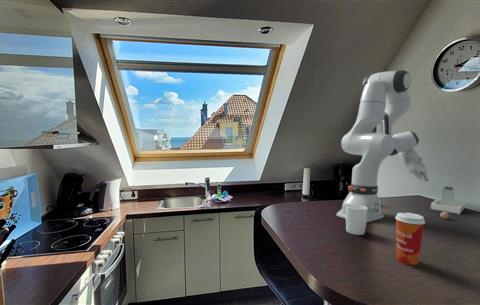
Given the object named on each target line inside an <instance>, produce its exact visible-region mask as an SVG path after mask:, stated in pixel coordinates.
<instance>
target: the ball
mask: <svg viewBox="0 0 480 305" xmlns="http://www.w3.org/2000/svg"><path fill="white" fill-rule="evenodd" d="M449 214H450V213H449V212H444V211H441V213H440V218H442V219H443V220H447V219H449V217H450V215H449Z"/></svg>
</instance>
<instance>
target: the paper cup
mask: <svg viewBox="0 0 480 305" xmlns="http://www.w3.org/2000/svg"><path fill="white" fill-rule="evenodd" d="M395 220H396V222H395V223H396V224H395V225H396V226H395V227H396V228H395V230H396V234H395V235H396V239H395V240H396V242H395V244H396V245H395V246H396V260H397V261H398V262H399V263H401V264H404V265H408V266H417V265H419V260H420V255H421V248H422V240H423V235H424V234H423V233H424V227H425V226H424V225H425V224H426V220H425V218H424V216H422V215H420V214H416V213H413V212H412V213H411V212H398V213H397V214H396V215H395Z"/></svg>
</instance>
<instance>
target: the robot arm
mask: <svg viewBox="0 0 480 305" xmlns="http://www.w3.org/2000/svg"><path fill="white" fill-rule="evenodd" d="M411 80H412V77H411V75H410V73H409V72H408V71H407V70H403V69H398V70H390V71H389V70H388V71H380V72H376V73H370V74H367V75H365V77H364V78H363V79H362V81H361V90H362V94H361V97H360V99H359V100H360V102H359V106H358V108H359V109H358V113H357V116H356V121H355V123H354V124H353V126H352V128H351V129H350V130H349V131H348V132H347V133H346V134H344V135H343V137H342V139H341V141H340V144H341V148H342V151H344V152H345V153H348V154H350V155H354V156H355V155H356V156H362V158H361V160H360V162H359V163H357V164H355V165H354V166H353V167H352V169H351V170H352V172H351V183H350V185H348V187H347V190H348V191H349V193H348V194H347V195H346V197H345V198H344V200H343V202H342V206H341V209H340V210H339V211H337V213H336V216H337V217H339V218H341V219H345V220H346V205H348V204H357V205H362V206H365V207H367V208H368V211H367V220H366V223H370V222H373V221H376V220H380V219H381V220H382V219H383V218H384V214H382V213H381V198H380V197H379V196H378V190H379V186H378V177H379V176H378V174H379V169H380V167H381V164H382V163H383V162H384V160H385V159H386V158H387V157H390V156H391V157H393V156H395V155H397V154H398V156H399V159H400V161H401V162H402V163H403V165H404V166H405V167H406V168H407V171H408V172H409V173H410V174H413V175H414V176H415V177H416V178H417V180H418V181H424V182H429V181H430V179H429V177H428V174H429V171H428V169H427V166H426V165H425V163H424V160H423V158H422V157H421V156H420V155H419V153H418V152H417V150H416V149H415V147H417V146H418V144H419V142H420V139H419V136H418V135H417V133H416V132H414V131H410V130H408V131H404V132H397V133H396V134H394V135H393V130H392V128H393V124H394V123H395V122H397V121H398V119H400V118H401V117H402V116H404V115H405V114H406V113H407V112H408V111H409V109H410V108H411V106H412V105H411V104H412V103H411V95H410V92H409V88H410V87H411V83H412V81H411ZM380 124H381V132H373V130H374V129H375V128H376V127H377V126H379V125H380Z"/></svg>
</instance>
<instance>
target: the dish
mask: <svg viewBox="0 0 480 305" xmlns="http://www.w3.org/2000/svg"><path fill="white" fill-rule="evenodd" d="M441 203H442V199H439V198H438V199H437V198H436V199H435V200H434V201H433V202H431V203H430V210H433V211H439V212H447V213H449V214H451V213H452V214H456V215H461V214H460V213H462V212H463V211H464V209H465V203H464V202H463V203H462V202H458V201H457V202H456V201H454V205H453V207H452V206H446V205H441Z"/></svg>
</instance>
